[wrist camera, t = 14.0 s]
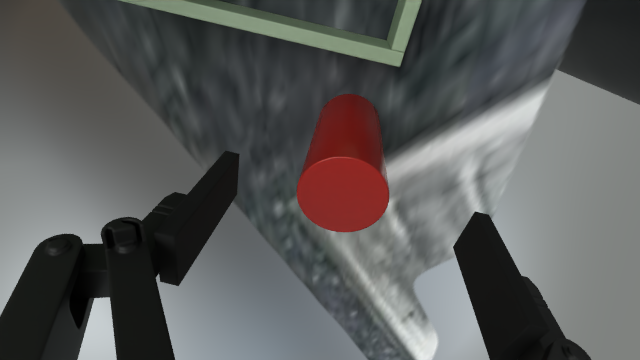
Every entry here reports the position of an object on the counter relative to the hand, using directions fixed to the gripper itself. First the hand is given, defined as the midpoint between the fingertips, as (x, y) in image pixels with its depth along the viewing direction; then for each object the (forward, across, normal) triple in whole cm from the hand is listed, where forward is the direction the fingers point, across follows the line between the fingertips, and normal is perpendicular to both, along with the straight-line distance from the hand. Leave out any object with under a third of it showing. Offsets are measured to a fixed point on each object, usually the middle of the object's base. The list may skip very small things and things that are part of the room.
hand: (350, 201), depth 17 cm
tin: (+12, -1, 0) cm, 12 cm away
